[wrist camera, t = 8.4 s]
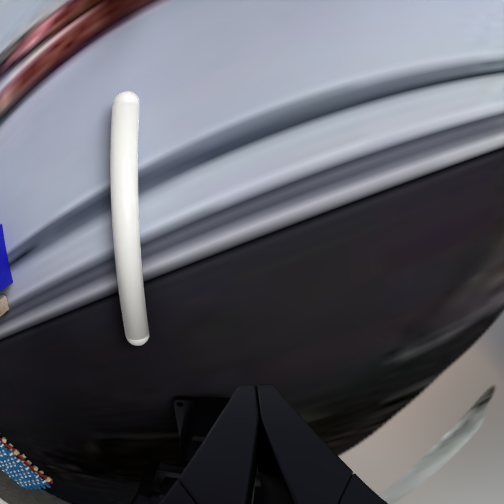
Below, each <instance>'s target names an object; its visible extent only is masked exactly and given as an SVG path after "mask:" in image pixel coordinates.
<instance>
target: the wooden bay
mask: <svg viewBox="0 0 504 504" xmlns="http://www.w3.org/2000/svg"><path fill="white" fill-rule="evenodd" d="M8 310H9V306H8V302H7V298H6V296H5V295H0V316H1V315H3V314H4V313H5V312H7V311H8Z"/></svg>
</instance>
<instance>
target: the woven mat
mask: <svg viewBox="0 0 504 504" xmlns="http://www.w3.org/2000/svg"><path fill="white" fill-rule="evenodd" d="M6 441H7V439H6V438H4V437H3V438H0V468H2V471H4V472H5V474H6V475H9V477H11V478H12V479H13V480H14V481H16V482H17V484H19V485H20V486H21V487H25V488H26V489H27V490H29V488H30V489H31V490H33V488H34V489H37V487H38V488H39V489H41V487H40V486H42V487H43V488H44V489H45V488H46V487H45V486H44V485H46V486H47V487H48V488H51V486H49V485H50V483H51V484H52V483H53V481H52V479H51V478H50V477H49V476H45V475H43V473H44V472H42V471H37V470H38V467H37V466H35V465H34V466H31V465H30V464H32V462H30V461H29V460H27V461H25V460H24V458H26V456H25V455H24V454H22V455H20V452H19V451H18V450H17V449H15V448H12V447H13V445H12V444H7V443H6ZM17 455H18V456H17ZM14 478H15V479H14ZM49 482H50V483H49ZM36 486H37V487H36ZM28 487H29V488H28ZM32 487H33V488H32Z"/></svg>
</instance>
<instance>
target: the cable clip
mask: <svg viewBox="0 0 504 504" xmlns="http://www.w3.org/2000/svg"><path fill="white" fill-rule="evenodd" d="M11 283H13V280H12V276H11V272H10V267H9V262H8V257H7V252H6V246H5V241H4V234H3V228H2V224H0V290H2V289H4V288H5V287H7V286H8V285H10V284H11Z"/></svg>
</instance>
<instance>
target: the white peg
mask: <svg viewBox="0 0 504 504" xmlns="http://www.w3.org/2000/svg"><path fill="white" fill-rule="evenodd" d="M139 107H140V102H139V98H138V96H137V95H136V94H134V93H133V92H130V91H125V92H121V93H119V94H118V95H117V96H116V97H115V98H114V100H113V103H112V117H111V147H110V179H111V210H112V228H113V241H114V253H115V264H116V273H117V282H118V290H119V297H120V304H121V311H122V318H123V324H124V330H125V336H126V339H127V340H128V342H129V343H131V344H132V345H135V346H141V345H143V344H145V343H146V342H147V340H148V338H149V328H148V320H147V312H146V303H145V294H144V284H143V273H142V261H141V247H140V230H139V206H138V130H139Z"/></svg>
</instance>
